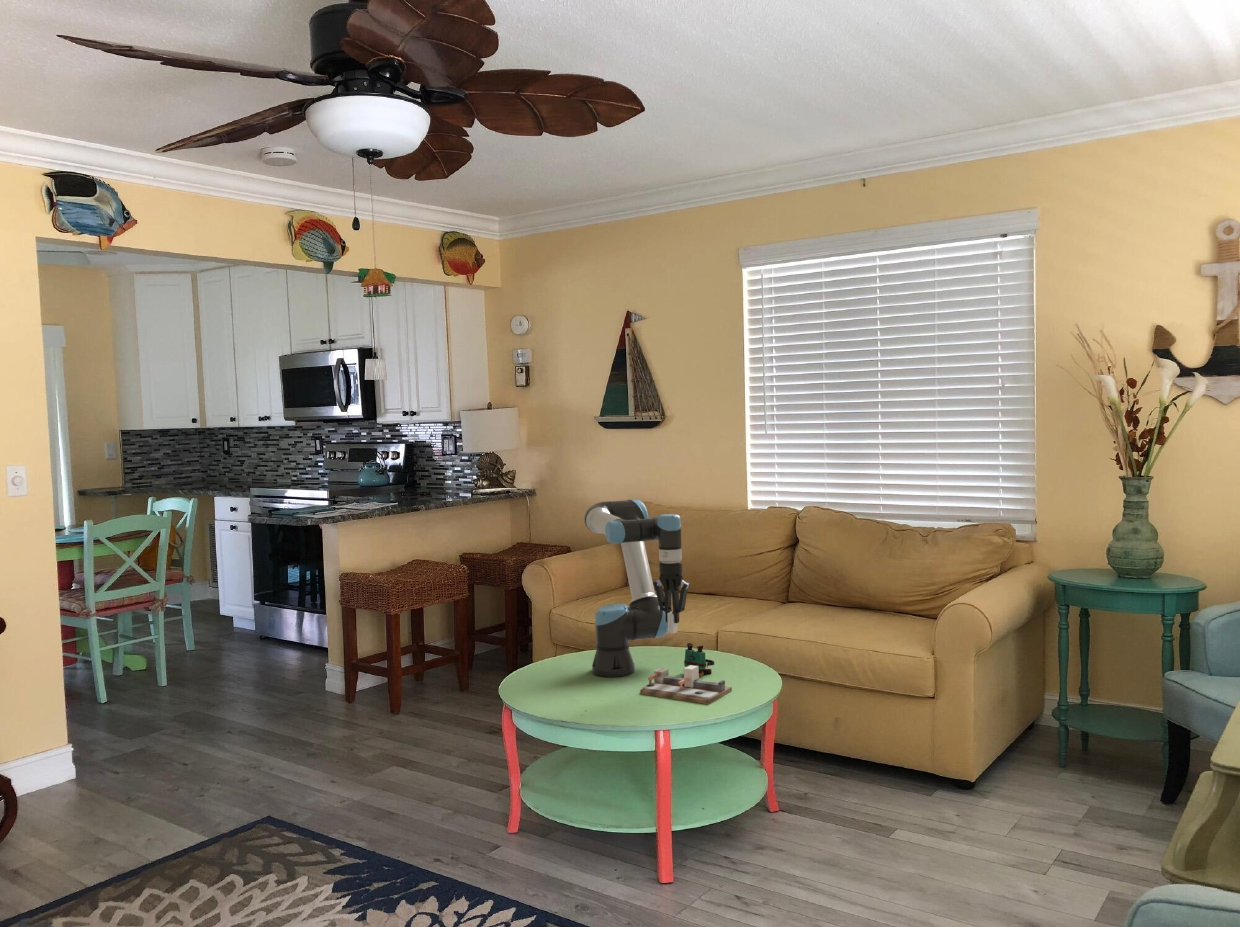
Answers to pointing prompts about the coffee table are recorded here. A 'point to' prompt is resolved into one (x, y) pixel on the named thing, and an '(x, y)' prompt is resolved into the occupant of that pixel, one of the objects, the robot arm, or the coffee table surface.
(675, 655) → the coffee table surface
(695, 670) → the slider head
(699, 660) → the binoculars
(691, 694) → the gauge
